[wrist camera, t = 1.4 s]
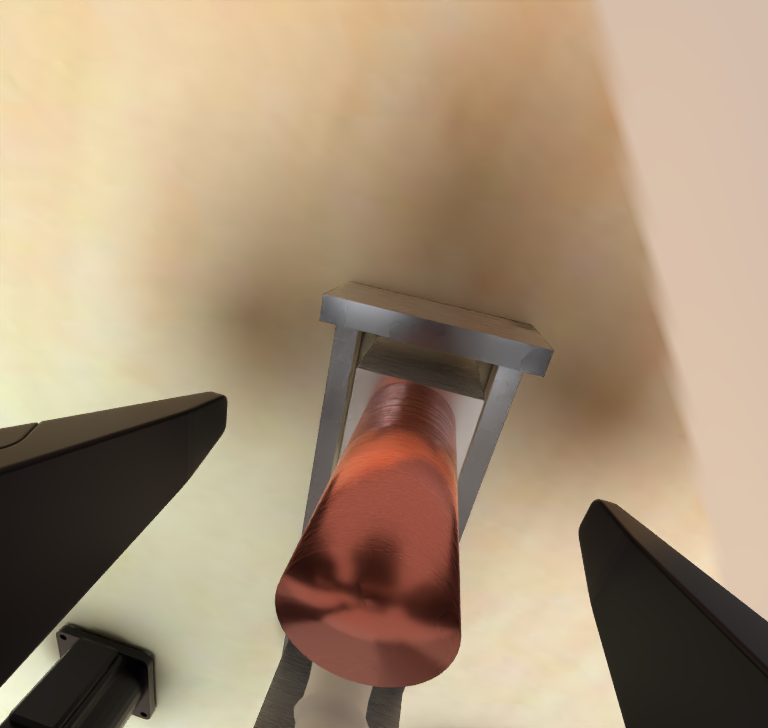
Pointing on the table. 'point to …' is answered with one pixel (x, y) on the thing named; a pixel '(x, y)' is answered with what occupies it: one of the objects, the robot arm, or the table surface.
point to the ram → (388, 524)
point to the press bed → (352, 317)
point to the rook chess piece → (332, 702)
